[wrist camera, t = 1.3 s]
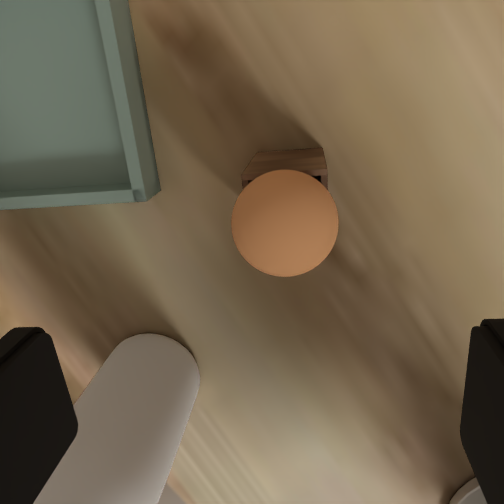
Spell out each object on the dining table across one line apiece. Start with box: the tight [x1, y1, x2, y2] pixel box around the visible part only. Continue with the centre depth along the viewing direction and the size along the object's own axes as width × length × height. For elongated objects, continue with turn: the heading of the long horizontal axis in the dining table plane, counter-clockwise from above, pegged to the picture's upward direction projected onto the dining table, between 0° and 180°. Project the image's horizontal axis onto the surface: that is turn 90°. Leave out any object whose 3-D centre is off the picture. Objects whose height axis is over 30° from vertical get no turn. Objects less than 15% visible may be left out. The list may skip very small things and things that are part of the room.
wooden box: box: [241, 148, 328, 190], centre depth 25 cm, size 4×4×7 cm
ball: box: [231, 170, 339, 277], centre depth 20 cm, size 5×5×5 cm
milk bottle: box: [33, 333, 200, 504], centre depth 26 cm, size 8×8×20 cm
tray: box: [0, 0, 161, 210], centre depth 27 cm, size 14×14×3 cm
